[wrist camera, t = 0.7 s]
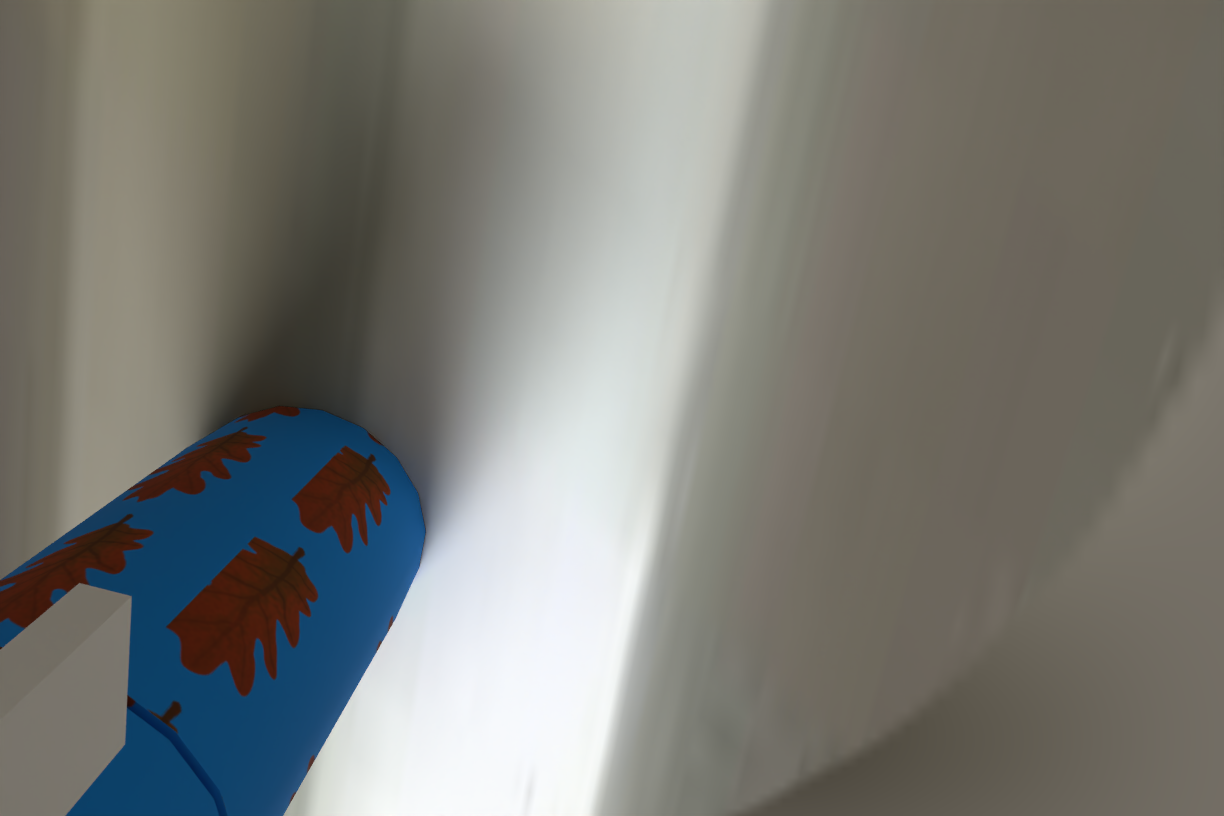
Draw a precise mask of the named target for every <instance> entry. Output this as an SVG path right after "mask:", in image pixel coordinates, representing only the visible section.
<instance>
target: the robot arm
mask: <svg viewBox="0 0 1224 816" xmlns="http://www.w3.org/2000/svg"><path fill="white" fill-rule="evenodd" d="M131 601H132V596H129V595H125V594H121V593H117V592H113V591H109V590H105V589H101V588H97V587H93V586H89V585H85V584H81V583H79V584H78V585H76V586H75V587H74V588H73V589H72V590H70V591H69V592H68V593H67V594H66V595H65V596H63V597H62V598H61V599H60V600H59V601H57V602H56V603H55V604H54V605H53V606H51V607H50V608H49V609H48V610H47V611H46V612H44V613H43V614H42V615H41V616H40V617H38V618H37V619H36V620H35V621H34V622H32V623H31V624H30V625H29V626H28V627H27V628H25V629H24V630H23V631H22V632H21V633H19V634H18V635H17V636H16V637H15V638H14V639H12V640H11V641H10V642H9V643H8V644H6V645H5V646H4V647H3V648H2V649H0V816H65V815H66V814H67V813H68V812H69V811H70V810H71V808H72V807H73V806H74V805H75V804H76V802H77V801H78V800H79V799H80V798H81V796H82V795H83V794H84V793H85V792H86V790H87V789H88V788H89V787H90V786H91V784H92V783H93V782H94V781H95V780H96V778H97V777H98V776H99V775H100V774H101V772H102V771H103V770H104V769H105V768H106V767H107V765H108V764H109V763H110V762H111V761H112V759H113V758H114V757H115V756H116V755H117V753H118V752H119V751H120V750H121V749H122V747H123V746H124V745H125V736H126V714H127V691H128V669H129V646H130V624H131Z"/></svg>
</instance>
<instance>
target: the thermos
mask: <svg viewBox="0 0 1224 816" xmlns="http://www.w3.org/2000/svg"><path fill="white" fill-rule="evenodd" d="M425 533H426V530H425V525H424V520H423V515H422V510H421V505H420V500H419V495H418V492H417V491H416V489H415V487H414V486H413V484H412V482H411V481H410V479H409V477H408V476H407V474H406V472H405V471H404V469H403V467H402V466H401V464H400V462H399V461H398V459H397V457H396V456H394V455H393V454H392V453H391V452H390V451H389V450H388V449H386V448H385V447H384V446H383V445H382V444H381V443H380V442H378V441H377V440H376V439H375V438H374V437H373V436H372V435H370V434H369V433H368V432H367V431H366V430H365V429H363V428H362V427H359V426H357V425H355V424H353V423H350V422H348V421H346V420H343V419H341V418H339V417H337V416H334V415H332V414H330V413H327V412H325V411H323V410H315V409H305V408H294V407H284V406H278V407H274V408H270V409H266V410H262V411H259V412H255V413H251V414H247V415H243V416H240V417H238V418H237V419H235V420H233V421H232V422H230V423H228V424H227V425H225V426H223V427H221V428H220V429H218V430H216V431H215V432H213V433H211V434H209V435H208V436H206V437H204V438H203V439H201V440H199V441H198V442H196V443H194V444H192V445H191V446H189V447H187V448H186V449H185V450H183V451H182V452H180V453H179V454H178V455H176V456H175V457H173V458H172V459H171V460H169V461H168V462H166V463H165V464H164V465H162V466H161V467H159V468H158V469H156V470H155V471H154V472H152V473H151V474H149V475H148V476H147V477H145V478H144V479H142V480H141V481H140V482H138V483H137V484H135V485H134V486H133V487H131V488H130V489H128V490H127V491H125V492H124V493H123V494H121V495H120V496H118V497H117V498H116V499H114V500H113V501H111V502H110V503H109V504H107V505H106V506H104V507H103V508H102V509H100V510H99V511H97V512H96V513H94V514H93V515H92V516H90V517H89V518H87V519H86V520H85V521H83V522H82V523H80V524H79V525H78V526H76V527H75V528H73V529H72V530H70V531H69V532H68V533H66V534H65V535H63V536H62V537H61V538H59V539H58V540H56V541H55V542H54V543H52V544H51V545H49V546H48V547H47V548H45V549H44V550H42V551H41V552H39V553H38V554H37V555H35V556H34V557H32V558H31V559H30V560H28V561H27V562H25V563H24V564H23V565H21V566H20V567H18V568H17V569H16V570H14V571H13V572H11V573H10V574H8V575H7V576H6V577H4V578H3V579H1V580H0V649H2V648H3V647H4V646H5V645H6V644H8V643H9V642H10V641H11V640H12V639H14V638H15V637H16V636H17V635H18V634H19V633H21V632H22V631H23V630H24V629H25V628H27V627H28V626H29V625H30V624H31V623H32V622H34V621H35V620H36V619H37V618H38V617H40V616H41V615H42V614H43V613H44V612H46V611H47V610H48V609H49V608H50V607H51V606H53V605H54V604H55V603H56V602H57V601H59V600H60V599H61V598H62V597H63V596H65V595H66V594H67V593H68V592H69V591H70V590H72V589H73V588H74V587H75V586H76V585H78V584H79V583H81V584H85V585H89V586H93V587H97V588H101V589H105V590H109V591H113V592H117V593H121V594H125V595H129V596H132V601H131V624H130V646H129V669H128V691H127V714H126V736H125V745H124V746H123V747H122V749H121V750H120V751H119V752H118V753H117V755H116V756H115V757H114V758H113V759H112V761H111V762H110V763H109V764H108V765H107V767H106V768H105V769H104V770H103V771H102V772H101V774H100V775H99V776H98V777H97V778H96V780H95V781H94V782H93V783H92V784H91V786H90V787H89V788H88V789H87V790H86V792H85V793H84V794H83V795H82V796H81V798H80V799H79V800H78V801H77V802H76V804H75V805H74V806H73V807H72V808H71V810H70V811H69V812H68V813H67V814H66V815H65V816H283V815H284V813H285V811H286V809H287V808H288V806H289V804H290V802H291V801H292V799H293V797H294V795H295V794H296V792H297V790H298V788H299V787H300V785H301V783H302V781H303V780H304V778H305V776H306V774H307V773H308V771H309V769H310V767H311V766H312V764H313V762H314V760H315V759H316V757H317V755H318V753H319V752H320V750H321V748H322V746H323V745H324V743H325V741H326V739H327V738H328V736H329V734H330V732H331V731H332V729H333V727H334V725H335V724H336V722H337V720H338V718H339V717H340V715H341V713H342V711H343V710H344V708H345V706H346V704H347V703H348V701H349V699H350V697H351V696H352V694H353V692H354V690H355V689H356V687H357V685H358V683H359V682H360V680H361V678H362V676H363V675H364V673H365V671H366V669H367V668H368V666H369V664H370V662H371V661H372V659H373V657H374V655H375V654H376V652H377V650H378V648H379V647H380V645H381V643H382V641H383V640H384V638H385V636H386V634H387V633H388V631H389V629H390V627H391V626H392V624H393V622H394V620H395V619H396V616H397V614H398V612H399V610H400V608H401V606H402V603H403V601H404V599H405V597H406V595H407V593H408V590H409V588H410V586H411V584H412V582H413V579H414V577H415V575H416V573H417V571H418V569H419V565H420V560H421V554H422V549H423V544H424V539H425Z"/></svg>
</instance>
